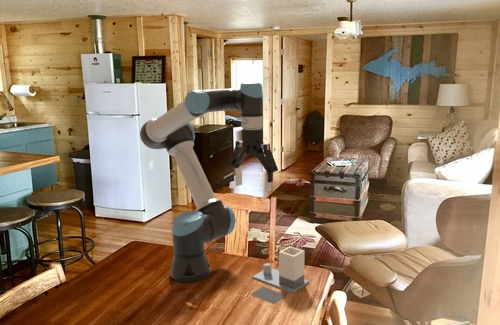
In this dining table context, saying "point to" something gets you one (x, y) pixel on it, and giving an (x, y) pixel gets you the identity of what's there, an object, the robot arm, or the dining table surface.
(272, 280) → the pin board
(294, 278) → the sleeve
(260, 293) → the mat
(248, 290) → the dining table surface
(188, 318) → the dining table surface
